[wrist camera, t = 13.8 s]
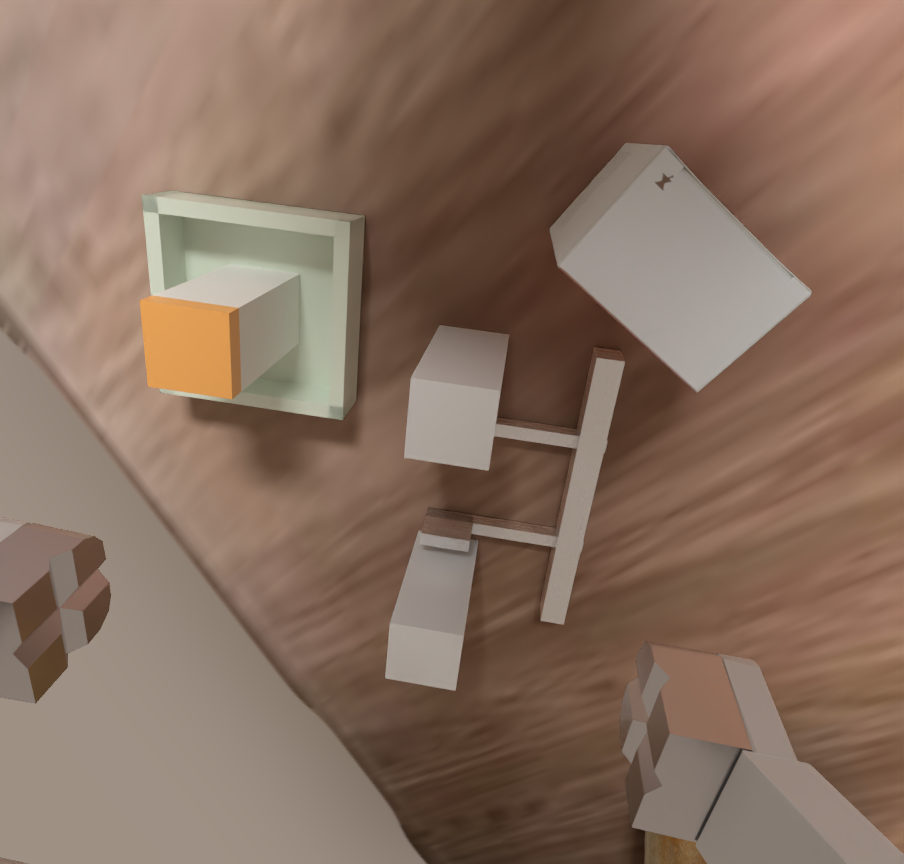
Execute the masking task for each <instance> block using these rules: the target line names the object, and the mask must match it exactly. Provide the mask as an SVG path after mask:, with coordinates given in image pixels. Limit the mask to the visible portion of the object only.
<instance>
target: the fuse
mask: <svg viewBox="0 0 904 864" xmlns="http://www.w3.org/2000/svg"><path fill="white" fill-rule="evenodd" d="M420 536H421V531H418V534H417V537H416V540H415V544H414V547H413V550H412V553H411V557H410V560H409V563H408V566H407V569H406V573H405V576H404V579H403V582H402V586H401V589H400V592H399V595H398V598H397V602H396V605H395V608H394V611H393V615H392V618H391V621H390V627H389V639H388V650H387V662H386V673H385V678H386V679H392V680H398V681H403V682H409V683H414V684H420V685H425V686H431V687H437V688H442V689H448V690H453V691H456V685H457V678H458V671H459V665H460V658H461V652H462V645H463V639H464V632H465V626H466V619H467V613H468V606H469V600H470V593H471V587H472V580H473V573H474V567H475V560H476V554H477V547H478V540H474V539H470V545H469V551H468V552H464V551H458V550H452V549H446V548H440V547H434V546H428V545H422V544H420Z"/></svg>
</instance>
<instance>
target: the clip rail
mask: <svg viewBox="0 0 904 864" xmlns="http://www.w3.org/2000/svg"><path fill="white" fill-rule="evenodd" d="M624 365H625V360H624V357H623V355H622V352H621V350H614V349H606V348H599V347H594V349H593V353H592V358H591V363H590V368H589V372H588V377H587V382H586V387H585V391H584V396H583V401H582V406H581V411H580V415H579V420H578V425H577V429H573V428H566V427H559V426H553V425H546V424H539V423H533V422H526V421H519V420H513V419H506V418H499V417H497V421H496V427H495V434H494V436H496V437H503V438H509V439H516V440H523V441H529V442H536V443H543V444H549V445H556V446H562V447H569V448H573V449H572V453H571V458H570V463H569V468H568V472H567V477H566V482H565V487H564V491H563V496H562V501H561V506H560V510H559V515H558V520H557V525H556V528H553V527H547V526H541V525H534V524H528V523H522V522H516V521H509V520H503V519H497V518H491V517H484V516H478V515H472V514H466V513H459V512H453V511H447V510H441V509H434V508H428V511H427V514H426V518H425V521H424V524H423V528H422V531H421V536H420V544H422V545H428V546H434V547H440V548H446V549H452V550H458V551H464V552H468V551H469V545H470V539H471V534H475V535H482V536H488V537H494V538H500V539H506V540H512V541H519V542H525V543H531V544H537V545H543V546H550V547H552V548H551V553H550V558H549V563H548V567H547V572H546V577H545V582H544V586H543V591H542V596H541V601H540V620H541V621H545V622H551V623H557V624H563V625H564V621H565V616H566V612H567V608H568V604H569V599H570V595H571V591H572V587H573V582H574V578H575V574H576V569H577V565H578V561H579V557H580V552H582V548H583V544H584V535H585V531H586V527H587V523H588V518H589V514H590V510H591V505H592V501H593V497H594V493H595V488H596V484H597V480H598V476H599V471H600V467H601V463H602V459H603V454H604V453H605V451H606V446H607V442H608V439H607V437H608V433H609V429H610V424H611V420H612V416H613V412H614V407H615V403H616V399H617V395H618V390H619V386H620V382H621V378H622V373H623V369H624Z"/></svg>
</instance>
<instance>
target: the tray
mask: <svg viewBox="0 0 904 864" xmlns="http://www.w3.org/2000/svg"><path fill="white" fill-rule="evenodd" d="M142 202H143V213H144V224H145V235H146V246H147V257H148V268H149V278H150V289H151V296H152V295H155V294H157V293H160V292H162V291H165V290H167V289H170V288H172V287H175V286H177V285H180V284H182V283H185V282H187V281H189V280H192V279H194V278H197V277H199V276H202V275H204V274H207V273H209V272H212V271H214V270H217V269H219V268H222V267H224V266H227V265H229V264H233V265H241V266H248V267H255V268H262V269H269V270H276V271H284V272H291V273H298V274H300V308H299V343H298V344H297V345H296V346H295V347H294V348H292V349H291V350H290V351H289V352H288V353H287V354H285V355H284V356H283V357H282V358H281V359H279V360H278V361H277V362H276V363H275V364H274V365H272V366H271V367H270V368H269V369H268V370H266V371H265V372H264V373H263V374H262V375H261V376H259V377H258V378H257V379H256V380H255V381H253V382H252V383H251V384H250V385H249V386H248V387H246V388H245V389H244V390H243V391H242V392H240V393H239V394H238V395H237V396H236V397H235V398H233V399H226V398H220V397H213V396H207V395H200V394H194V393H187V392H181V391H174V390H168V389H161V388H160V393H167V394H173V395H180V396H186V397H193V398H199V399H206V400H213V401H219V402H226V403H232V404H239V405H246V406H252V407H259V408H265V409H272V410H278V411H285V412H292V413H298V414H305V415H311V416H318V417H325V418H331V419H338V420H343V419H344V417H345V416H346V415H347V413H348V412H349V410H350V409H351V407H352V406H353V405H354V403H355V402H356V394H357V373H358V353H359V332H360V311H361V290H362V270H363V249H364V228H365V216H364V215H356V214H349V213H341V212H333V211H325V210H318V209H310V208H302V207H295V206H287V205H279V204H272V203H264V202H256V201H248V200H241V199H233V198H225V197H218V196H210V195H202V194H195V193H187V192H179V191H166V192H159V193H152V194H145V195H142Z"/></svg>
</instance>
